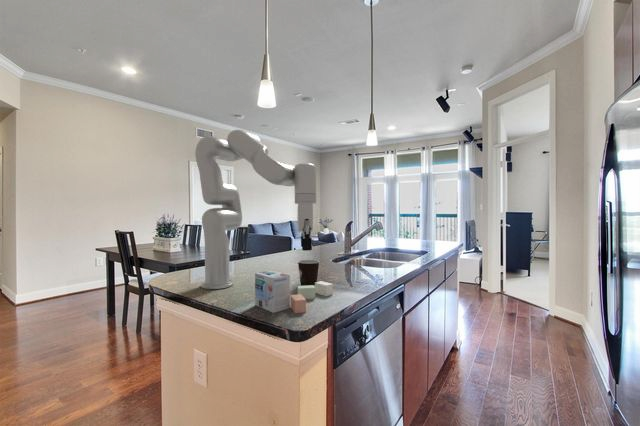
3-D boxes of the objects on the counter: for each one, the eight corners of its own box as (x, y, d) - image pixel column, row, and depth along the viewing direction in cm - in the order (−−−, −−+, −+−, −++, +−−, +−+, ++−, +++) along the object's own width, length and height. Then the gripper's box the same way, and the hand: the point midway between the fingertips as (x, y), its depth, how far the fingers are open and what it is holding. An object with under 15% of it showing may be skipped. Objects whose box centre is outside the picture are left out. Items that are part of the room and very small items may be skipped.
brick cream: (314, 293, 116) (314, 282, 115) (321, 291, 118) (321, 281, 118) (326, 296, 111) (326, 285, 111) (332, 294, 114) (332, 283, 113)
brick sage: (298, 299, 107) (298, 288, 107) (297, 296, 111) (297, 285, 111) (315, 299, 108) (315, 287, 108) (313, 296, 112) (314, 285, 112)
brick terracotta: (290, 307, 99) (290, 295, 99) (300, 306, 100) (300, 294, 100) (295, 313, 94) (295, 300, 94) (306, 312, 95) (306, 299, 95)
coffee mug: (318, 288, 121) (318, 263, 121) (297, 288, 121) (297, 263, 121) (319, 281, 132) (319, 258, 132) (299, 281, 133) (299, 258, 132)
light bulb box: (254, 305, 101) (254, 272, 101) (271, 300, 106) (271, 269, 106) (273, 313, 94) (273, 278, 93) (290, 308, 98) (290, 274, 98)
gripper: (294, 200, 115) (294, 245, 116) (295, 198, 98) (296, 252, 99) (314, 200, 116) (314, 245, 117) (318, 198, 99) (319, 251, 99)
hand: (306, 248), depth 108 cm, fingers open, 9 cm apart
